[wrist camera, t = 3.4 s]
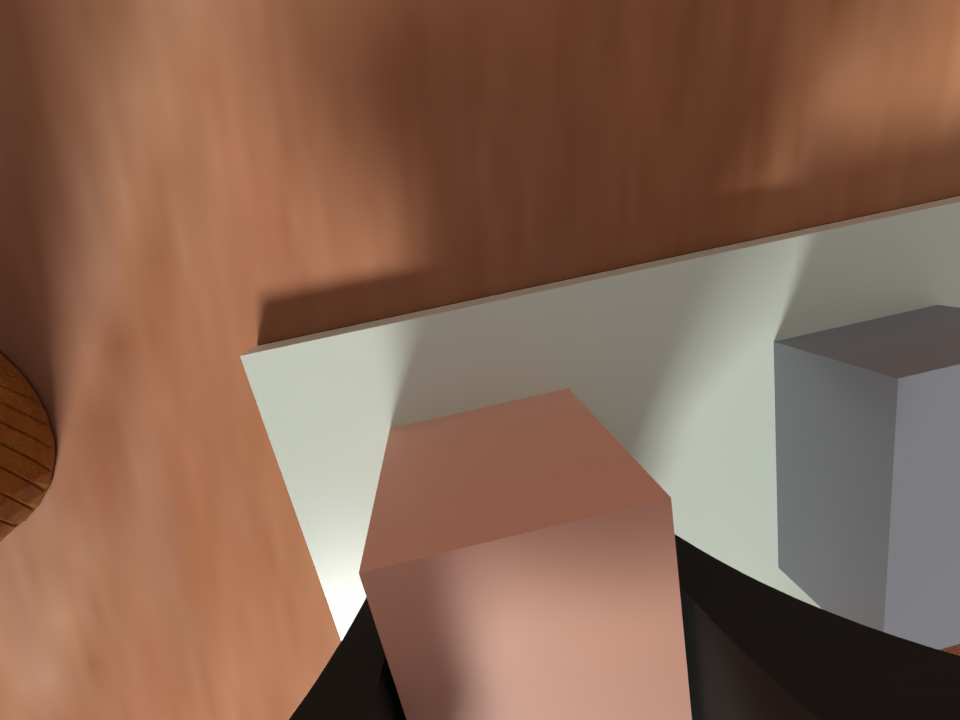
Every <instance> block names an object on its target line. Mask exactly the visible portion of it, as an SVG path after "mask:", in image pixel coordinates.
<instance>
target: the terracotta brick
mask: <svg viewBox="0 0 960 720" xmlns="http://www.w3.org/2000/svg"><path fill="white" fill-rule="evenodd" d="M359 576H360V579H361V582H362V585H363V588H364V591H365V594H366V597H367V600H368V603H369V606H370V609H371V612H372V616H373V619H374V622H375V625H376V628H377V631H378V634H379V637H380V640H381V643H382V646H383V649H384V652H385V655H386V659H387V662H388V665H389V668H390V671H391V674H392V677H393V680H394V683H395V686H396V689H397V692H398V695H399V698H400V702H401V705H402V708H403V711H404V714H405V717H406V720H692V714H691V704H690V693H689V682H688V672H687V661H686V650H685V640H684V629H683V619H682V608H681V597H680V587H679V576H678V565H677V555H676V544H675V533H674V523H673V512H672V501H671V497H670V496H669V495H668V494H667V493H666V492H665V491H664V490H663V489H662V487H661V486H660V485H659V484H658V483H657V482H656V481H655V480H654V479H653V478H652V477H651V476H650V475H649V474H648V473H647V471H646V470H645V469H644V468H643V467H642V466H641V465H640V464H639V463H638V462H637V461H636V460H635V459H634V458H633V456H632V455H631V454H630V453H629V452H628V451H627V450H626V449H625V448H624V447H623V446H622V445H621V444H620V443H619V442H618V440H617V439H616V438H615V437H614V436H613V435H612V434H611V433H610V432H609V431H608V430H607V429H606V428H605V427H604V426H603V424H602V423H601V422H600V421H599V420H598V419H597V418H596V417H595V416H594V415H593V414H592V413H591V412H590V411H589V410H588V408H587V407H586V406H585V405H584V404H583V403H582V402H581V401H580V400H579V399H578V398H577V397H576V396H575V395H574V394H573V392H572V391H571V390H570V389H569V388H567V389H562V390H558V391H554V392H549V393H545V394H540V395H536V396H531V397H527V398H523V399H518V400H514V401H509V402H505V403H500V404H496V405H492V406H487V407H483V408H478V409H474V410H469V411H465V412H461V413H456V414H452V415H447V416H443V417H439V418H434V419H430V420H425V421H421V422H416V423H412V424H408V425H403V426H399V427H394V428H390V430H389V435H388V439H387V444H386V449H385V453H384V458H383V463H382V467H381V472H380V477H379V481H378V486H377V491H376V495H375V500H374V504H373V509H372V514H371V518H370V523H369V528H368V532H367V537H366V542H365V546H364V551H363V556H362V560H361V565H360V569H359Z"/></svg>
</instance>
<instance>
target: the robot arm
mask: <svg viewBox="0 0 960 720" xmlns="http://www.w3.org/2000/svg"><path fill="white" fill-rule="evenodd" d="M675 544H676V555H677V565H678V576H679V587H680V597H681V608H682V619H683V629H684V640H685V650H686V661H687V672H688V682H689V693H690V704H691V714H692V720H960V656H958V655H954V654H951V653H947V652H944V651H941V650H938V649H934V648H931V647H928V646H925V645H922V644H919V643H915V642H912V641H909V640H906V639H903V638H900V637H897V636H894V635H891V634H888V633H885V632H882V631H879V630H876V629H873V628H871V627H868V626H865V625H862V624H859V623H857V622H854V621H852V620H849V619H846V618H844V617H841V616H839V615H836V614H833V613H831V612H828V611H826V610H823V609H820V608H818V607H816V606H813V605H811V604H808V603H806V602H804V601H801V600H799V599H797V598H794V597H792V596H790V595H788V594H786V593H783V592H781V591H779V590H777V589H775V588H773V587H770V586H768V585H766V584H764V583H762V582H760V581H758V580H756V579H754V578H752V577H750V576H748V575H746V574H744V573H742V572H740V571H738V570H736V569H734V568H732V567H731V566H729V565H727V564H725V563H723V562H721V561H720V560H718V559H716V558H714V557H712V556H711V555H709V554H707V553H705V552H704V551H702V550H700V549H698V548H697V547H695V546H694V545H692V544H690V543H689V542H687V541H685V540H684V539H682V538H680V537H679V536H677V535H676V534H675ZM289 720H406V717H405V714H404V711H403V708H402V705H401V702H400V698H399V695H398V692H397V689H396V686H395V683H394V680H393V677H392V674H391V671H390V668H389V665H388V662H387V659H386V655H385V652H384V649H383V646H382V643H381V640H380V637H379V634H378V631H377V628H376V625H375V622H374V619H373V616H372V612H371V609H370V606H369V603H368V600H367V597H366V599H365V601H364V603H363V604H362V606H361V608H360V610H359V612H358V613H357V615H356V617H355V619H354V620H353V622H352V624H351V626H350V628H349V629H348V631H347V633H346V635H345V636H344V638H343V640H342V641H341V643H340V645H339V646H338V648H337V649H336V651H335V652H334V654H333V656H332V657H331V659H330V660H329V662H328V664H327V665H326V667H325V668H324V670H323V672H322V673H321V675H320V676H319V678H318V679H317V681H316V682H315V684H314V685H313V687H312V688H311V690H310V691H309V692H308V694H307V695H306V697H305V698H304V700H303V701H302V702H301V704H300V705H299V707H298V708H297V709H296V711H295V712H294V713H293V715H292V716H291V718H290V719H289Z"/></svg>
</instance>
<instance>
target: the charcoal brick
mask: <svg viewBox="0 0 960 720" xmlns="http://www.w3.org/2000/svg"><path fill="white" fill-rule="evenodd" d="M774 385H775V432H776V479H777V526H778V568H779V569H780V570H781V571H782V572H783V573H785V574H786V575H787V576H788V577H789V578H790V579H791V580H792V581H793V582H794V583H795V584H796V585H797V586H798V587H799V588H801V589H802V590H803V591H804V592H805V593H806V594H807V595H808V596H809V597H810V598H811V599H812V600H813V601H814V602H815V603H816V604H818V605H819V606H820V607H821V608H822V609H823V610H826V611H828V612H831V613H833V614H836V615H839V616H841V617H844V618H846V619H849V620H852V621H854V622H857V623H859V624H862V625H865V626H868V627H871V628H873V629H876V630H879V631H882V632H885V633H888V634H891V635H894V636H897V637H900V638H903V639H906V640H909V641H912V642H915V643H919V644H922V645H925V646H928V647H931V648H934V649H938V650H939V649H943V648H947V647H951V646H954V645H958V644H960V308H959V307H951V306H943V305H934V306H930V307H925V308H921V309H916V310H912V311H908V312H903V313H899V314H894V315H890V316H886V317H881V318H877V319H872V320H868V321H863V322H859V323H855V324H850V325H846V326H841V327H837V328H832V329H828V330H824V331H819V332H815V333H810V334H806V335H801V336H797V337H793V338H788V339H784V340H779V341H775V342H774Z"/></svg>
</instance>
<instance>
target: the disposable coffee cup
mask: <svg viewBox="0 0 960 720" xmlns="http://www.w3.org/2000/svg"><path fill="white" fill-rule="evenodd" d="M54 462H55V444H54V438H53V435H52V431H51V428H50V424H49V421H48V417H47V414H46V412H45V410H44V408H43V406H42V405H41V403H40V401H39V399H38V397H37V395H36V393H35V392H34V390H33V389H32V387H31V386H30V385H29V383H28V382H27V381H26V379H25V378H24V377H23V375H22V374H21V373H20V372H19V371H18V370H17V369H16V368H15V367H14V366H13V365H12V364H11V363H10V362H9V361H8V360H7V359H6V358H5V357H4V356H3V355H2V354H1V353H0V541H1V540H2V539H3V538H5V537H6V536H7V535H8V534H9V533H10V532H11V531H12V530H13V529H14V528H16V527H17V526H18V525H19V524H21V523H22V522H23V521H25V520H26V519H27V518H28V517H29V516H30V515H31V513H32V512H33V511H34V510H35V509H36V508H37V507H38V506H39V505H40V503H41V501H42V499H43V497H44V495H45V494H46V492H47V490H48V488H49V486H50V482H51V477H52V472H53V467H54Z"/></svg>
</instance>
